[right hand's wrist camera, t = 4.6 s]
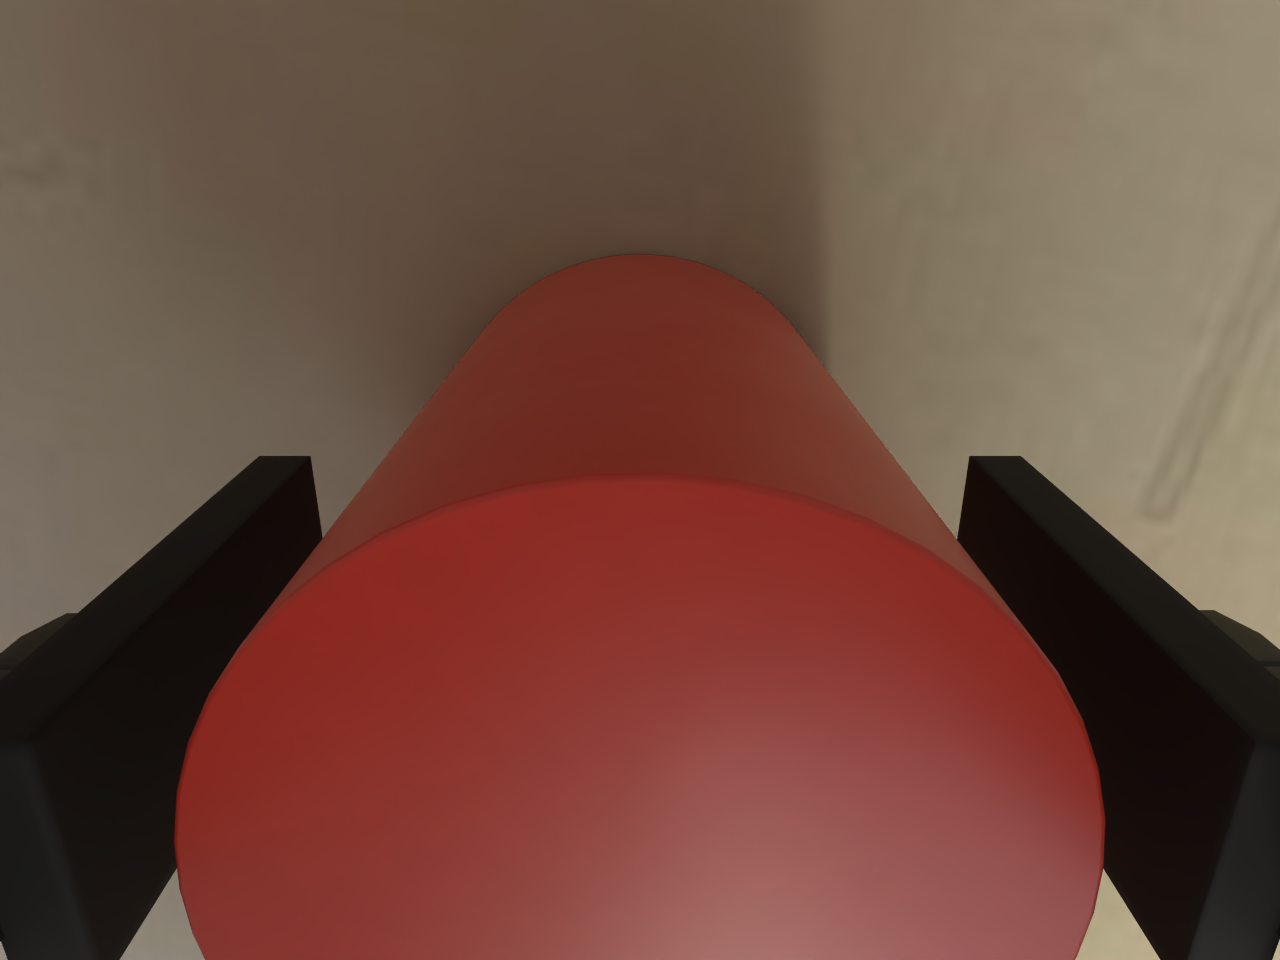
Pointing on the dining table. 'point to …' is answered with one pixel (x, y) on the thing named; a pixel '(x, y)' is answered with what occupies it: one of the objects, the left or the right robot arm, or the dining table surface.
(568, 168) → the dining table surface
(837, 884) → the canister
